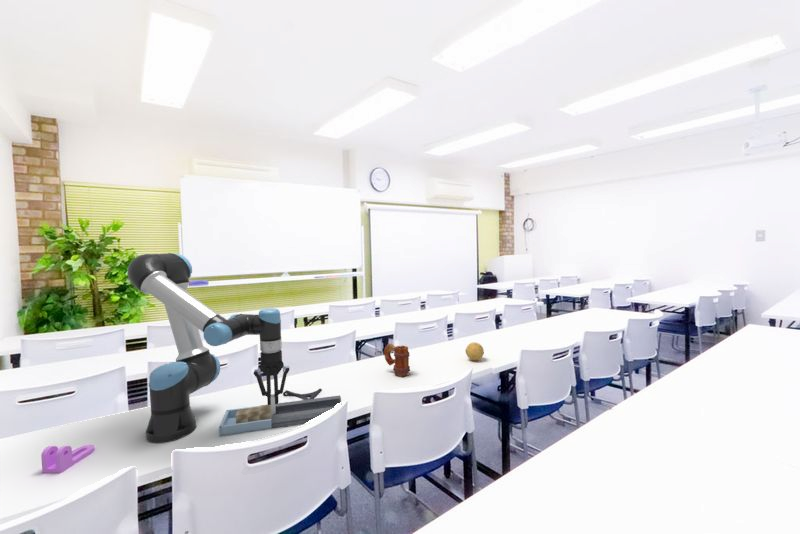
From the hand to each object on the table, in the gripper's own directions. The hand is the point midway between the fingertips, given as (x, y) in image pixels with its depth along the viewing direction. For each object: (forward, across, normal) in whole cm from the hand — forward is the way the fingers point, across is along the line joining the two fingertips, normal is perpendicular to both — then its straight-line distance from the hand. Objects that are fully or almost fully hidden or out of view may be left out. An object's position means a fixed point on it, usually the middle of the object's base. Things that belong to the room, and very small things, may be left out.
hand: (273, 412), depth 136 cm
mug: (+3, +58, +33) cm, 67 cm away
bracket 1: (+3, -59, -8) cm, 59 cm away
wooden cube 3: (+2, -3, 0) cm, 3 cm away
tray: (+3, -9, 0) cm, 9 cm away
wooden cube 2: (+2, -7, 0) cm, 7 cm away
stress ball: (+3, +105, +40) cm, 112 cm away
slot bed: (+3, +13, 0) cm, 13 cm away
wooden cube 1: (+2, -11, 0) cm, 11 cm away
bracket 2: (+4, +10, +20) cm, 23 cm away
